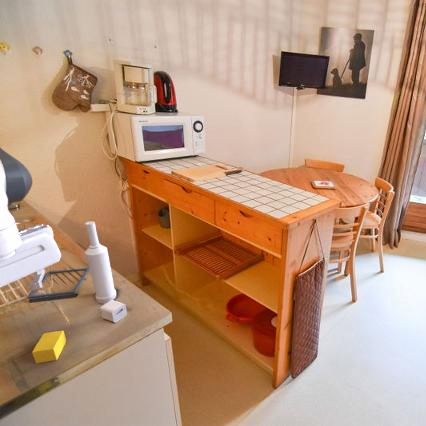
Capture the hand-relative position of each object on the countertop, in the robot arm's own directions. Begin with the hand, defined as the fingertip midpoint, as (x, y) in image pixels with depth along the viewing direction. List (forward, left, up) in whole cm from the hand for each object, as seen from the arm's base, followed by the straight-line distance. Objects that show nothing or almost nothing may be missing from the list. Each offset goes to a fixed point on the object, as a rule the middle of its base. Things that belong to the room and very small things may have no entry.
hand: (10, 301), depth 64 cm
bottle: (+8, +24, -20) cm, 32 cm away
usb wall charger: (+11, +16, -20) cm, 28 cm away
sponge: (+1, +5, -19) cm, 20 cm away
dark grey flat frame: (-6, +33, -19) cm, 39 cm away
